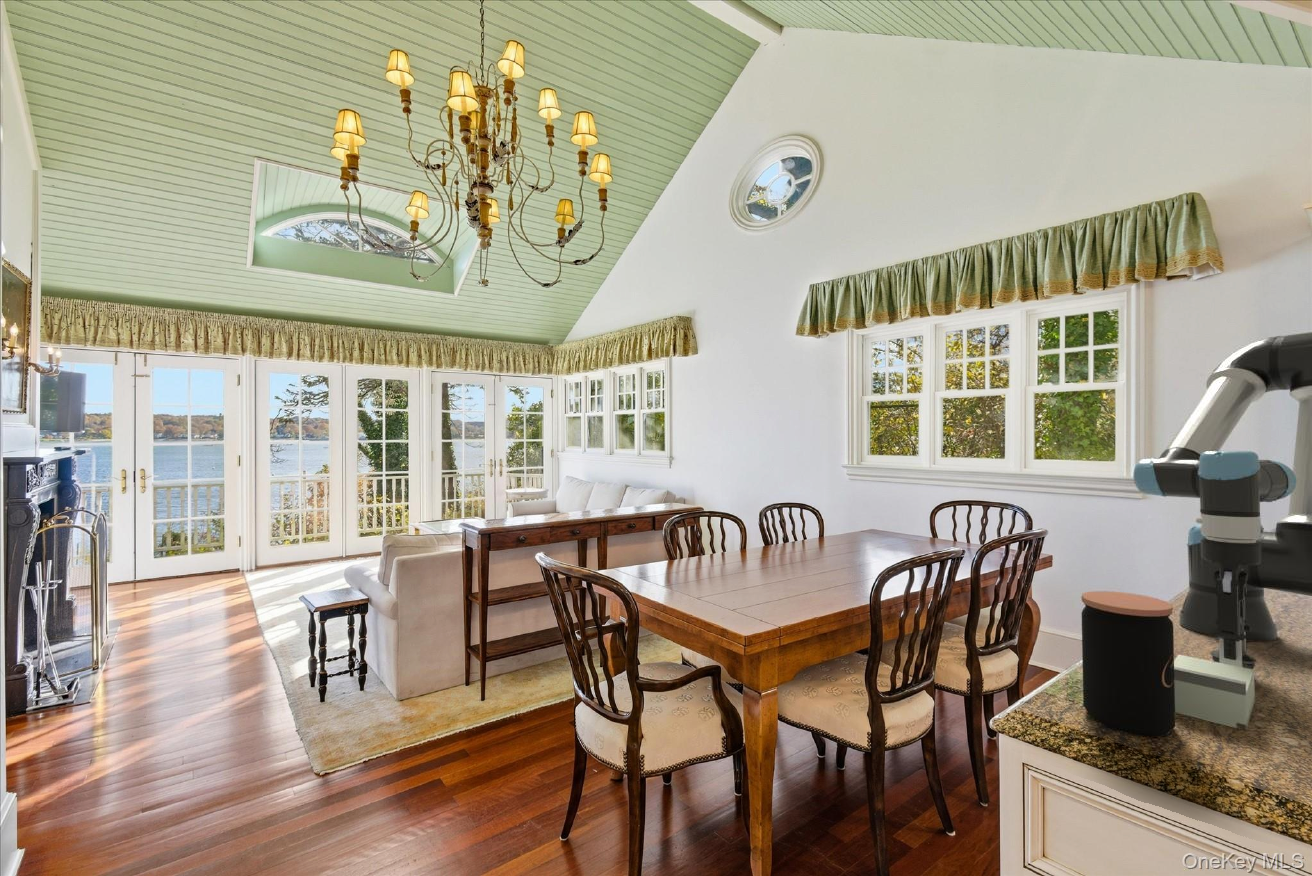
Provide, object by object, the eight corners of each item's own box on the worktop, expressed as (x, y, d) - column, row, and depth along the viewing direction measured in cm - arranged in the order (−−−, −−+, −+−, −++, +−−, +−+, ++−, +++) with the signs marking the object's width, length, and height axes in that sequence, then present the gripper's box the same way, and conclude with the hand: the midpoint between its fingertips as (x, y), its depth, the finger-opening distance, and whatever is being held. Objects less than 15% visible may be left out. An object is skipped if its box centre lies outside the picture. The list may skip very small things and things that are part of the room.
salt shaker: (1210, 667, 106) (1209, 601, 106) (1257, 676, 102) (1255, 607, 102) (1209, 677, 102) (1207, 608, 102) (1257, 686, 98) (1256, 615, 98)
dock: (1179, 683, 99) (1178, 645, 99) (1254, 701, 92) (1253, 659, 92) (1163, 709, 90) (1162, 666, 90) (1246, 730, 83) (1245, 684, 83)
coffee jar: (1184, 746, 79) (1181, 614, 79) (1086, 727, 85) (1084, 603, 85) (1167, 715, 88) (1164, 596, 88) (1080, 699, 94) (1078, 587, 94)
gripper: (1208, 530, 111) (1211, 652, 111) (1192, 543, 99) (1195, 680, 98) (1265, 535, 105) (1268, 663, 105) (1256, 548, 93) (1259, 694, 93)
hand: (1233, 671), depth 102 cm, fingers closed on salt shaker, 6 cm apart
